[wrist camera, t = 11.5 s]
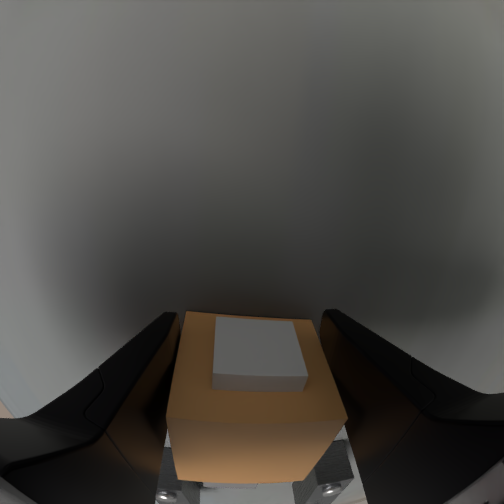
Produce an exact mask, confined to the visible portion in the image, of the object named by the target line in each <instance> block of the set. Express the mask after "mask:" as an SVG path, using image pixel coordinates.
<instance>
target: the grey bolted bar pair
mask: <svg viewBox="0 0 504 504" xmlns="http://www.w3.org/2000/svg"><path fill="white" fill-rule="evenodd" d="M353 479H354V475H353V472H352V469H351V465H350V462H349V459H348V456H347V452H346V449H345V446H344V443H343V440H340V441H334V442H332V443H331V444H330V446H329V447H328V449H327V450H326V451H325V453H324V454H323V456H322V457H321V458H320V460H319V461H318V462H317V463H316V465H315V466H314V467H313V469H312V470H311V471H310V472H309V474H308V475H307V476H306V477H305V479H304V480H303V481H294V482H293V484H292V488H293V494H294V500H295V504H331V503H332V502H333V501H334V500H335V499H336V498H337V496H338V495H339V494H340V493H341V492H342V491H343V490H344V489H345V488H346V487H347V486H348V485H349V483H350V482H351V481H352V480H353ZM155 497H156V501H157V502H158V503H159V504H200V487H199V485H198V482H197V481H188V480H179V479H178V477H177V473H176V468H175V464H174V459H173V454H172V449H171V448H164V450H163V456H162V462H161V468H160V474H159V480H158V486H157V492H156V496H155Z"/></svg>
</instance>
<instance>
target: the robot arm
mask: <svg viewBox="0 0 504 504" xmlns="http://www.w3.org/2000/svg"><path fill="white" fill-rule="evenodd" d="M180 339H181V331H180V324H179V318H178V314H177V313H176V312H164V313H163V314H162V315H160V316H159V317H158V318H157V319H155V320H154V321H153V322H152V323H151V324H149V325H148V326H147V327H146V328H145V329H143V330H142V331H141V332H140V333H139V334H137V335H136V336H135V337H134V338H132V339H131V340H130V341H129V342H128V343H126V344H125V345H124V346H123V347H122V348H120V349H119V350H118V351H117V352H116V353H114V354H113V355H112V356H111V357H110V358H108V359H107V360H106V361H105V362H104V363H102V364H101V365H100V366H99V367H98V368H99V369H98V368H96V369H95V370H94V371H93V372H92V373H90V374H89V375H88V376H87V377H85V378H84V379H83V380H82V381H80V382H79V383H78V384H76V385H75V386H74V387H72V388H71V389H69V390H68V391H67V392H65V393H64V394H62V395H61V396H59V397H58V398H56V399H55V400H53V401H52V402H50V403H49V404H47V405H46V406H44V407H43V408H41V409H40V410H38V411H37V412H35V413H33V414H31V415H29V416H27V417H23V418H15V419H9V418H0V504H155V500H156V497H155V496H156V492H157V486H158V480H159V474H160V468H161V462H162V456H163V450H164V445H165V439H166V434H167V429H168V427H167V421H166V413H167V407H168V401H169V395H170V390H171V384H172V379H173V374H174V368H175V363H176V358H177V353H178V348H179V343H180ZM320 339H321V344H322V348H323V352H324V355H325V358H326V360H327V363H328V365H329V368H330V370H331V373H332V376H333V378H334V381H335V384H336V387H337V389H338V392H339V395H340V397H341V400H342V403H343V406H344V409H345V411H346V414H347V417H348V419H347V421H346V422H345V424H344V425H345V428H346V432H347V435H348V438H349V441H350V444H351V447H352V451H353V454H354V457H355V461H356V464H357V467H358V470H359V474H360V477H361V481H362V483H363V488H364V491H365V495H366V498H367V502H368V504H504V393H498V394H484V393H480V392H477V391H475V390H473V389H471V388H469V387H467V386H465V385H463V384H461V383H459V382H457V381H455V380H453V379H451V378H449V377H447V376H445V375H443V374H441V373H439V372H437V371H436V370H434V369H432V368H430V367H429V366H427V365H425V364H424V363H422V362H420V361H419V360H417V359H415V358H414V357H412V358H411V355H409V354H407V353H406V352H404V351H403V350H401V349H399V348H398V347H396V346H395V345H393V344H391V343H390V342H388V341H387V340H385V339H384V338H382V337H380V336H379V335H377V334H376V333H374V332H372V331H371V330H369V329H368V328H366V327H364V326H363V325H361V324H360V323H358V322H357V321H355V320H353V319H352V318H350V317H349V316H347V315H345V314H344V313H342V312H341V311H339V310H337V309H326V310H324V312H323V315H322V321H321V326H320Z"/></svg>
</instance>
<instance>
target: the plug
mask: <svg viewBox="0 0 504 504" xmlns="http://www.w3.org/2000/svg"><path fill="white" fill-rule="evenodd" d="M347 419H348V417H347V414H346V411H345V409H344V406H343V403H342V400H341V397H340V395H339V392H338V389H337V387H336V384H335V381H334V378H333V376H332V373H331V370H330V368H329V365H328V363H327V360H326V358H325V355H324V352H323V349H322V346H321V344H320V341H319V339H318V336H317V333H316V331H315V328H314V326H313V323H312V321H311V320H306V319H283V318H266V317H250V316H236V315H224V314H213V313H202V312H192V311H186V315H185V320H184V324H183V329H182V334H181V339H180V343H179V348H178V353H177V358H176V363H175V368H174V374H173V379H172V384H171V390H170V395H169V401H168V407H167V413H166V421H167V427H168V433H169V438H170V444H171V449H172V454H173V459H174V464H175V468H176V473H177V477H178V479H179V480H188V481H198V482H203V487H214V488H256V487H257V485H258V483H279V482H293V481H303V480H304V479H305V477H306V476H307V475H308V474H309V472H310V471H311V470H312V469H313V467H314V466H315V465H316V463H317V462H318V461H319V460H320V458H321V457H322V456H323V454H324V453H325V451H326V450H327V449H328V447H329V446H330V444H331V443H332V442H333V440H334V439H335V437H336V436H337V434H338V433H339V431H340V430H341V428H342V427H343V425H344V424H345V422H346V421H347Z"/></svg>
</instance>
